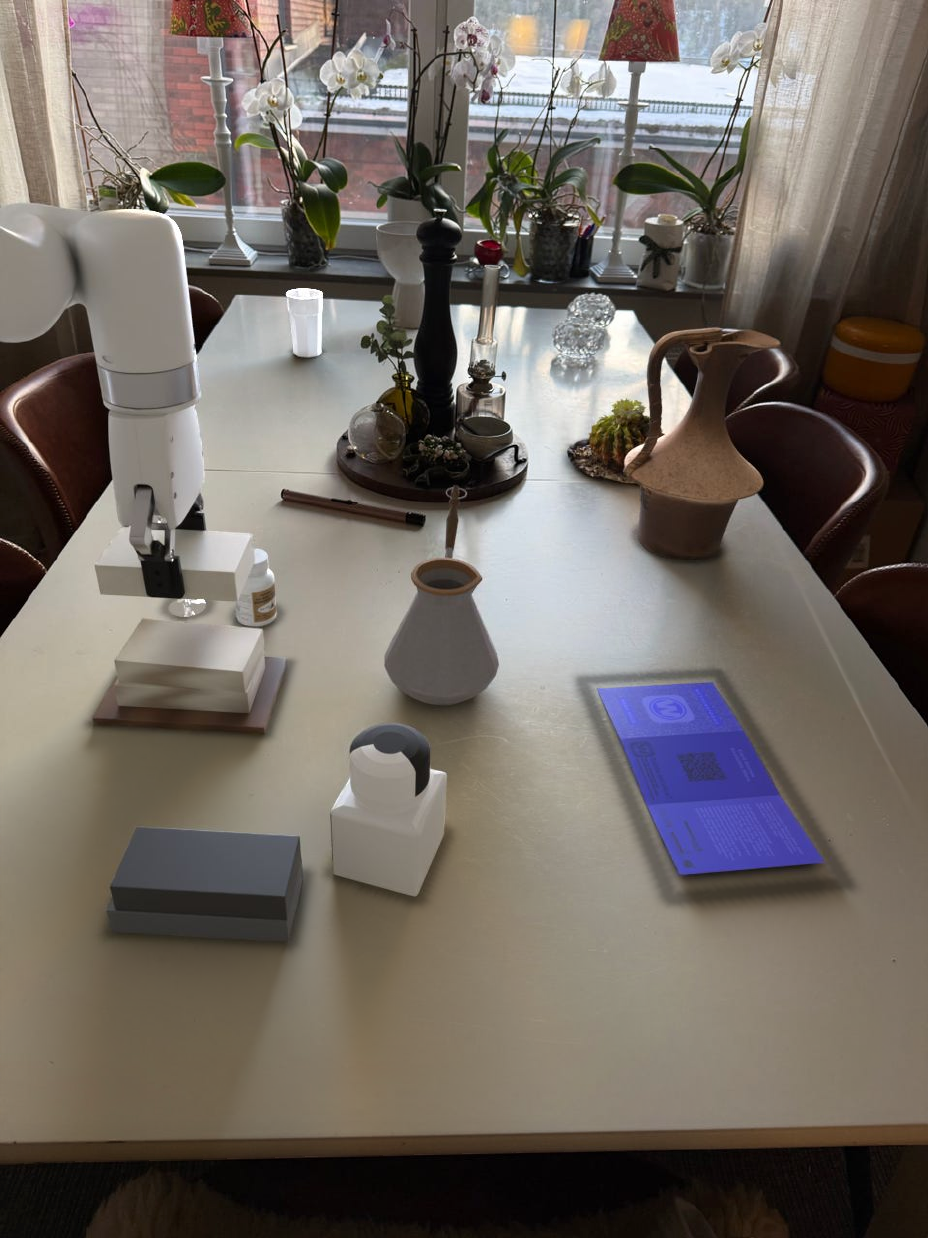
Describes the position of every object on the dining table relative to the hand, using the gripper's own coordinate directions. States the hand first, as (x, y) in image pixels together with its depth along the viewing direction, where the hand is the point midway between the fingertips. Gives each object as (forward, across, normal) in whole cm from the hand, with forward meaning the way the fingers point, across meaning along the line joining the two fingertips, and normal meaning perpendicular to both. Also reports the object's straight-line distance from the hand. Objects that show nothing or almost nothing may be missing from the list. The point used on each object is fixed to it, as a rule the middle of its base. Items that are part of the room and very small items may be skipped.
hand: (178, 571), depth 84 cm
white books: (+14, 0, 0) cm, 14 cm away
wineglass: (+14, -15, -5) cm, 21 cm away
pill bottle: (+14, -14, +3) cm, 20 cm away
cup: (+14, -104, -7) cm, 105 cm away
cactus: (+14, -61, +48) cm, 79 cm away
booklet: (+14, +7, +48) cm, 50 cm away
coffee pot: (+14, -9, +24) cm, 29 cm away
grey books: (+14, +25, +8) cm, 30 cm away
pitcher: (+14, -37, +53) cm, 66 cm away
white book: (+1, 0, 0) cm, 1 cm away
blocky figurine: (+14, +19, +21) cm, 32 cm away
